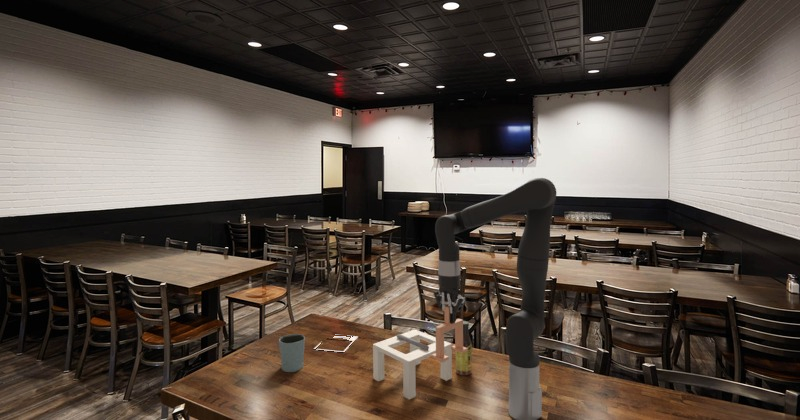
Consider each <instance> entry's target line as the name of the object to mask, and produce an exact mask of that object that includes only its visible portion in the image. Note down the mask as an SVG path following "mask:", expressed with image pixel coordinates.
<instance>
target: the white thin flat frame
mask: <svg viewBox="0 0 800 420" xmlns="http://www.w3.org/2000/svg"><path fill="white" fill-rule="evenodd" d="M350 336H351V338H350V337H346V336H334V337H333V338H343V339H347V340H349V341H348V342H350V341H352V342H350V344H349V345H348V346H346V348H345V349H344V350H334V349H333V350H332V349H324V348H319V347H320V346H321V345H322V344H321V342H319V343H318V344H317V345H316V346H314V348H313V349H316V348H317V347H318V346H319V345H320V344H321V345H320V346H319V347H318V348H317V349H316V350H315V351H318V350H324V351H323V352H327V351H334V352H333V353H337V352H345V351H346V352H347V351H348V350H349V348H350V347H351V346H352V345H353V344H354V343H355V342H356V341H357V340H358V338H359V336H357V335H356V336H355V335H350ZM352 336H353V337H352ZM349 338H350V339H349ZM355 340H356V341H355ZM354 341H355V342H354ZM353 342H354V343H353ZM352 343H353V344H352ZM351 344H352V345H351ZM350 345H351V346H350ZM349 346H350V347H349ZM346 352H345V353H346Z"/></svg>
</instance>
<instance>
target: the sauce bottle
mask: <svg viewBox="0 0 800 420" xmlns="http://www.w3.org/2000/svg"><path fill="white" fill-rule="evenodd" d="M469 323H470V322H469V321H468V320H467V321H466V320H463V347H465V348H467V351H466V352H464V353H459V352H457V351H455V372H456V374H458V375H460V376H469V375H471V373H472V368H473V363H472V362H473V360H472V358H473V357H472V356H473V352H472V351H473V350H472V349H473V348H472V347H473V343H472V340H471V337H470V333H469V326H470V324H469Z"/></svg>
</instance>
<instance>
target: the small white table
mask: <svg viewBox="0 0 800 420" xmlns="http://www.w3.org/2000/svg"><path fill="white" fill-rule="evenodd" d="M421 340H422V341H424V342H427V343H428V345H426V344H424V343H421ZM407 343H408V344H409V352H408V353H404V352H402V351H399V350H397V349H395V348H396V347H400V346H401V345H405V344H407ZM451 346H453V344H452V343H451V342H449V341H446V340H444V355H446V356H448V357H449V360H447V361H444V362H441V361H440V379H441V380H444V381H445V382H447V381H449V380H451V379H452V378H453V372H452V371H453V370H452V369H453V363H452V362H453V359H452V358H453V357H452V356H453V352H452V351H453V350H452V349H451ZM435 353H436V336H433V335H430V334H428V333H426V332H423V331H420V330H417V329H412V330H409V331H405V332H404V333H401V334H400V333H397V334H396V335H395V336H392V337H390V338H386V339H384V340H380V341H378V342H375V343H373V344H372V359H373V360H372V364H373V365H372V366H373V367H372V368H373V369H372V372H373V379H374V380H375V381H377V382H378V383H379V382H381V381H383V380H385V379H386V378H385V376H386V375H385V355H386V356H388V357H390V358H392V359H394V360H396V361H398V362H401V363H402V369H403V370H402V379H403V381H402V382H403V384H402V385H403V386H402V387H403V388H402V389H403V391H402V393H403V397H404V398H405V399H407V400H412V399H414V398H416V397H417V396H416V382H417V381H416V366H418V365H420V364H421V361H423V360H426V359H429V358H430V357H431V358H432V354H435Z"/></svg>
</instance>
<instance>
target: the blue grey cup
mask: <svg viewBox="0 0 800 420" xmlns="http://www.w3.org/2000/svg"><path fill="white" fill-rule="evenodd" d="M305 341H306V336H305V335H303V334H299V333H292V334H285V335H283V336H281V337H279V339H278V344H279V353H280V355H279V356H280V363H281V370H282V371H283V372H285V373H294V372H298V371H301V370H302V369H303V367H304V360H305V359H304V355H305V344H306V342H305Z"/></svg>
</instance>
